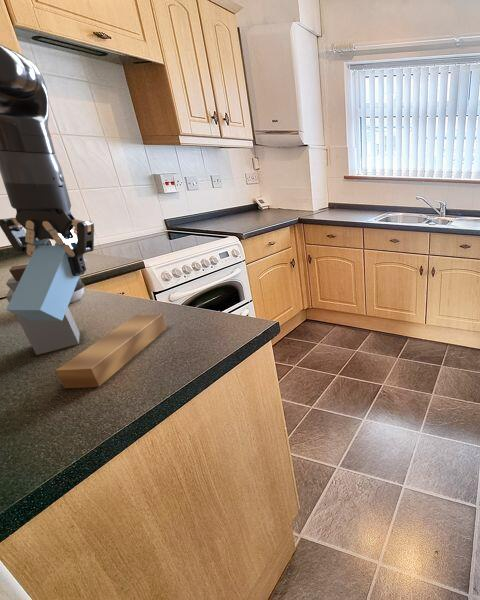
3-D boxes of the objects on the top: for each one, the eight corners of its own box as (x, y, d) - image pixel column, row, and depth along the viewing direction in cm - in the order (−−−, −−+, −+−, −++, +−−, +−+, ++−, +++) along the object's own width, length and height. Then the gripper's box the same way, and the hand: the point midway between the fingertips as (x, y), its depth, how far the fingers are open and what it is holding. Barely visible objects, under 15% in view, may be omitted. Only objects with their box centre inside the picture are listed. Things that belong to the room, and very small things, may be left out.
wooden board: (99, 386, 61) (91, 368, 59) (64, 388, 61) (54, 370, 59) (166, 328, 81) (161, 313, 80) (140, 329, 81) (135, 314, 79)
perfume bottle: (40, 342, 76) (0, 266, 68) (79, 332, 80) (46, 259, 72) (36, 355, 71) (-6, 274, 64) (78, 344, 75) (43, 267, 68)
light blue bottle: (62, 320, 61) (39, 310, 57) (30, 320, 61) (5, 309, 56) (93, 241, 69) (76, 226, 64) (66, 240, 68) (46, 224, 64)
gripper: (-37, 178, 54) (0, 279, 60) (64, 183, 56) (90, 281, 62) (7, 178, 61) (36, 268, 67) (96, 182, 63) (116, 270, 69)
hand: (62, 274), depth 64 cm, fingers closed on light blue bottle, 5 cm apart
